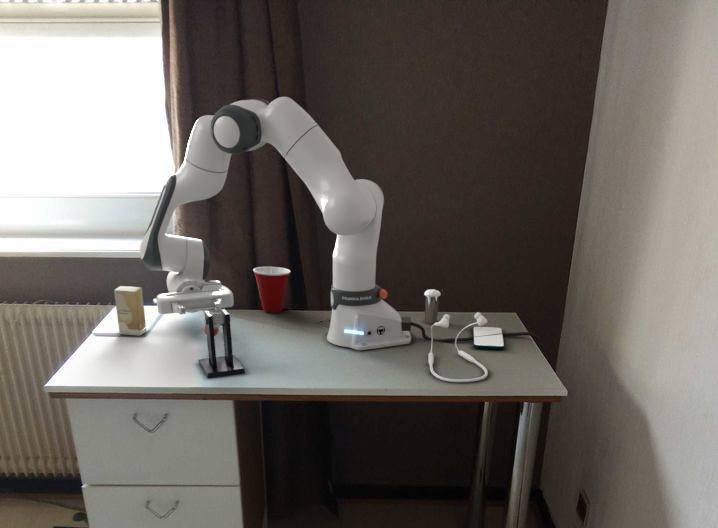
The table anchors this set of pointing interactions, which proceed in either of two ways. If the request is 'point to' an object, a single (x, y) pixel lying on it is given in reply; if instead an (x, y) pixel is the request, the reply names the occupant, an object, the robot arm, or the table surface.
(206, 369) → the bracket
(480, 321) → the earphone
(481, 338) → the smartphone
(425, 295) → the milkshake
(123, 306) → the cosmetic box
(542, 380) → the table surface
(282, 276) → the plastic cup
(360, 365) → the table surface
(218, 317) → the lever
